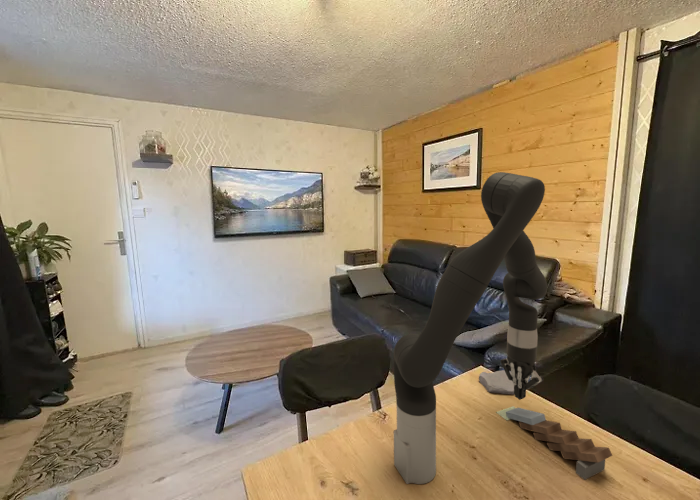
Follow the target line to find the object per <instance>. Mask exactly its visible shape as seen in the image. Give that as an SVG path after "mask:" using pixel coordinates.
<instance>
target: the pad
mask: <svg viewBox="0 0 700 500" xmlns="http://www.w3.org/2000/svg"><path fill="white" fill-rule="evenodd" d="M515 408H516V407H515V406H514V405H512V406H510V407H507V408H504V409H502V410H501V409H500V410H498V411H495V413H496V414H498V415H499V416H500V417H501V418H503V420H505V421H510V420H511V419H510V418H507V415H506V412H507V411H509V410H512V409H515Z"/></svg>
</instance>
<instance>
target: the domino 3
mask: <svg viewBox="0 0 700 500" xmlns="http://www.w3.org/2000/svg"><path fill="white" fill-rule="evenodd" d="M532 434H533V436H534V439H535V440H537V441H544V442H554V443H560V444H567V443H569V442H571V441H574V440H576V439H578V438H579V435H578V433H577V431H576V430H570V429H562V430H559V431H557V432H554V433H552V434H549V435H546V434H542V433H538V432H534V431H532Z"/></svg>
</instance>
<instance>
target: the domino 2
mask: <svg viewBox="0 0 700 500" xmlns="http://www.w3.org/2000/svg"><path fill="white" fill-rule="evenodd" d="M518 424H519V427H520V429H522V430H527V431H530V432H538V433H542V434H546V435H549V434H552V433H554V432H557V431H559V430H563V429H562V426H561V424H560V422H557V421H552V420H548V419H546V420H545V421H542V422H540V423H537V424H535V425H530V424H527V423H524V422H520V421H518Z"/></svg>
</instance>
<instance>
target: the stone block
mask: <svg viewBox="0 0 700 500" xmlns="http://www.w3.org/2000/svg"><path fill="white" fill-rule="evenodd" d="M509 372H510V374H511V371H509ZM478 381H479V383H480V384H481V385H482V386H483V387H484V388H485V390H486V391H487V392H488V393H493V394H494V393H495V394H503V395H514V396H515V394H514V384H513V381H512V380H509V379H508V377H507V375H506V373H505V370H504V369H503V370H496V371H493V372H486V371H482V372H481V373H479V376H478Z"/></svg>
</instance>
